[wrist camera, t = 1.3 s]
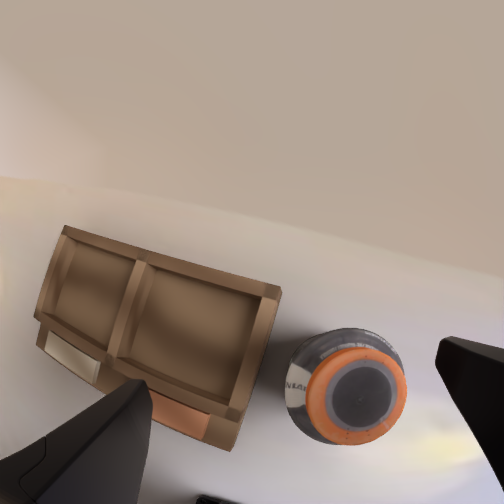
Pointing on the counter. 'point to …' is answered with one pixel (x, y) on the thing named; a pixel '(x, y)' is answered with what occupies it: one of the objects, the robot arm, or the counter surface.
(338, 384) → the pill bottle
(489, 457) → the robot arm
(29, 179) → the counter surface
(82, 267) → the socket frame
